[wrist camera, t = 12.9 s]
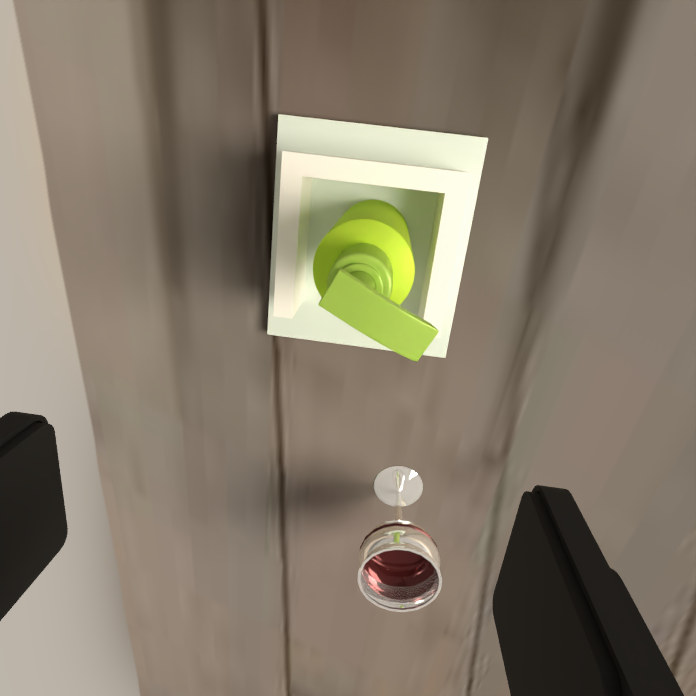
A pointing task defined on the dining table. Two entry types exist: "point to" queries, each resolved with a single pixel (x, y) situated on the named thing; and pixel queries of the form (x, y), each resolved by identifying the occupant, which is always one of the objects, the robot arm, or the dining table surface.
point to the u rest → (359, 185)
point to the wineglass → (399, 550)
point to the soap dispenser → (372, 277)
